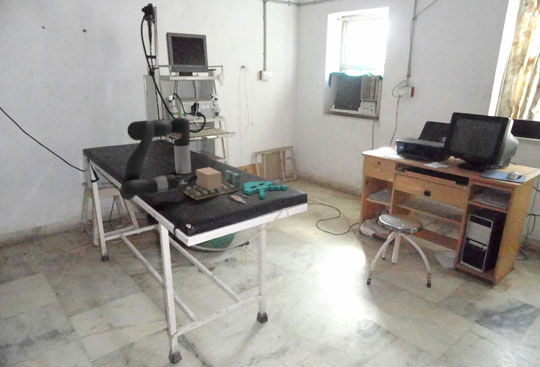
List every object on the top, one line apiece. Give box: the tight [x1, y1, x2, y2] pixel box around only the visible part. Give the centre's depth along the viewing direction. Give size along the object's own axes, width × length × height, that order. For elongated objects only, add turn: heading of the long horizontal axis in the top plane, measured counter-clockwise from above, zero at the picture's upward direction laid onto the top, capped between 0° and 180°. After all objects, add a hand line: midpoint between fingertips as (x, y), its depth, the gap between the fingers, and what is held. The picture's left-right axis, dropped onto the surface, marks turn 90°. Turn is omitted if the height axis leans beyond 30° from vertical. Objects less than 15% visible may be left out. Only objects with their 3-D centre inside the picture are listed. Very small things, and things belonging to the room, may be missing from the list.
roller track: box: [183, 169, 243, 201], centre depth 193 cm, size 13×27×8 cm, turn 129°
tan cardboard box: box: [195, 166, 223, 190], centre depth 191 cm, size 12×8×8 cm, turn 39°
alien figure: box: [242, 180, 288, 200], centre depth 198 cm, size 20×2×20 cm
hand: (196, 177), depth 186 cm, fingers closed
